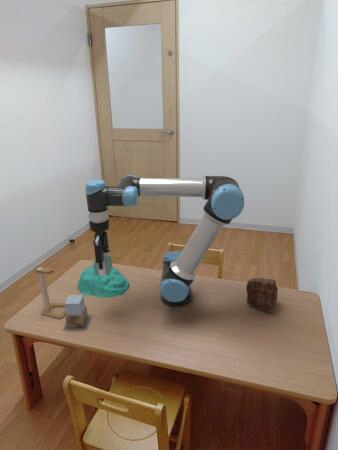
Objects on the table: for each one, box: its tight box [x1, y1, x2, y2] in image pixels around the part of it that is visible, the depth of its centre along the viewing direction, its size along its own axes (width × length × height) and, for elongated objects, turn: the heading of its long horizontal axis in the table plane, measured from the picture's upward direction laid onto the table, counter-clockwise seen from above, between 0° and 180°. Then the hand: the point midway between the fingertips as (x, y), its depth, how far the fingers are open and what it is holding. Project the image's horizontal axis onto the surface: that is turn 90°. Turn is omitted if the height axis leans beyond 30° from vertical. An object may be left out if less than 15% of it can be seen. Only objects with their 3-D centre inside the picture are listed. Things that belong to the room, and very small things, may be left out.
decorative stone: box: [77, 264, 130, 298], centre depth 167 cm, size 21×27×10 cm
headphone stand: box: [35, 266, 66, 320], centre depth 146 cm, size 10×11×22 cm
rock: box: [245, 277, 279, 313], centre depth 147 cm, size 14×12×15 cm
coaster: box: [62, 314, 93, 332], centre depth 143 cm, size 10×10×1 cm
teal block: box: [93, 255, 113, 276], centre depth 139 cm, size 6×6×6 cm
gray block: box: [64, 294, 86, 316], centre depth 139 cm, size 6×6×6 cm
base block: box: [64, 305, 89, 328], centre depth 142 cm, size 7×7×6 cm
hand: (104, 270), depth 140 cm, fingers closed on teal block, 6 cm apart
